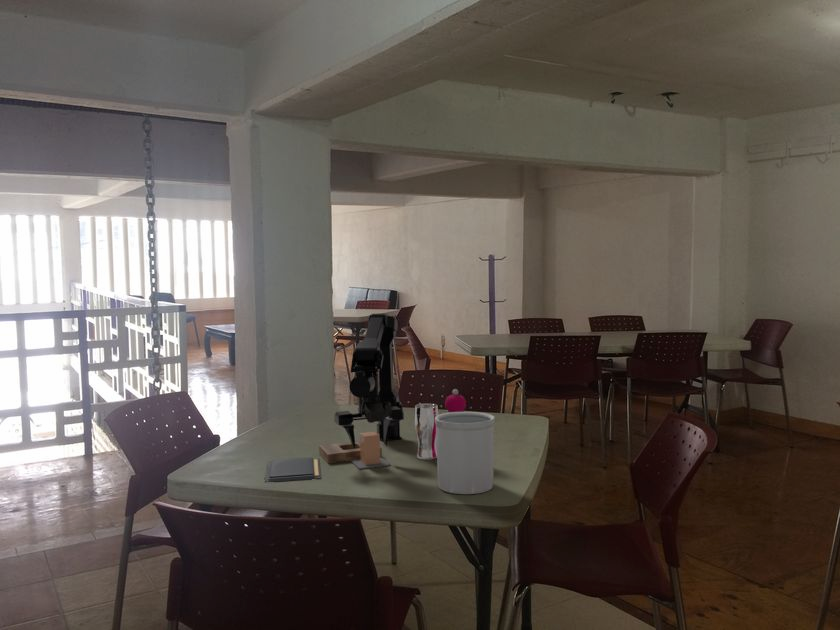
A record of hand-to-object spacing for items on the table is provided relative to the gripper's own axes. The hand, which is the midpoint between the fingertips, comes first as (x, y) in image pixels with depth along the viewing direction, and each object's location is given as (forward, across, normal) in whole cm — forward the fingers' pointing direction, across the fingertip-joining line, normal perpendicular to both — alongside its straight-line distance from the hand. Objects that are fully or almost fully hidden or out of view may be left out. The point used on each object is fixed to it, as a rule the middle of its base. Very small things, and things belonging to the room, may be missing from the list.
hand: (369, 445), depth 195 cm
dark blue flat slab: (+6, -21, +2) cm, 22 cm away
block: (+5, 0, 0) cm, 5 cm away
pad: (+5, 0, 0) cm, 5 cm away
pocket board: (+5, -3, +10) cm, 12 cm away
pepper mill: (+5, +24, -6) cm, 25 cm away
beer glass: (+5, +17, -1) cm, 18 cm away
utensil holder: (+5, +16, -30) cm, 34 cm away
